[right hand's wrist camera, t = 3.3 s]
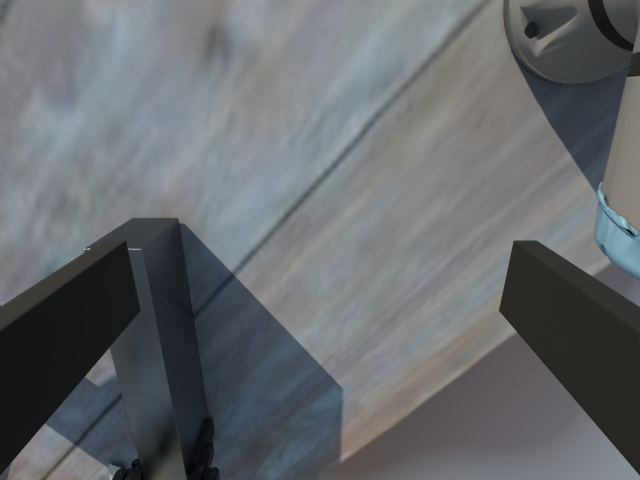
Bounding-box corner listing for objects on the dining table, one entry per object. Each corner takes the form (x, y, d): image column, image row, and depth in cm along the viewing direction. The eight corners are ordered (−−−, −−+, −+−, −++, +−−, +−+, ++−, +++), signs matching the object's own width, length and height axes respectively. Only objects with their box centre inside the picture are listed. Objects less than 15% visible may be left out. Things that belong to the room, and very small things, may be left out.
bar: (132, 218, 41) (83, 249, 32) (178, 218, 41) (141, 248, 32) (177, 444, 54) (151, 508, 45) (212, 444, 54) (192, 507, 45)
